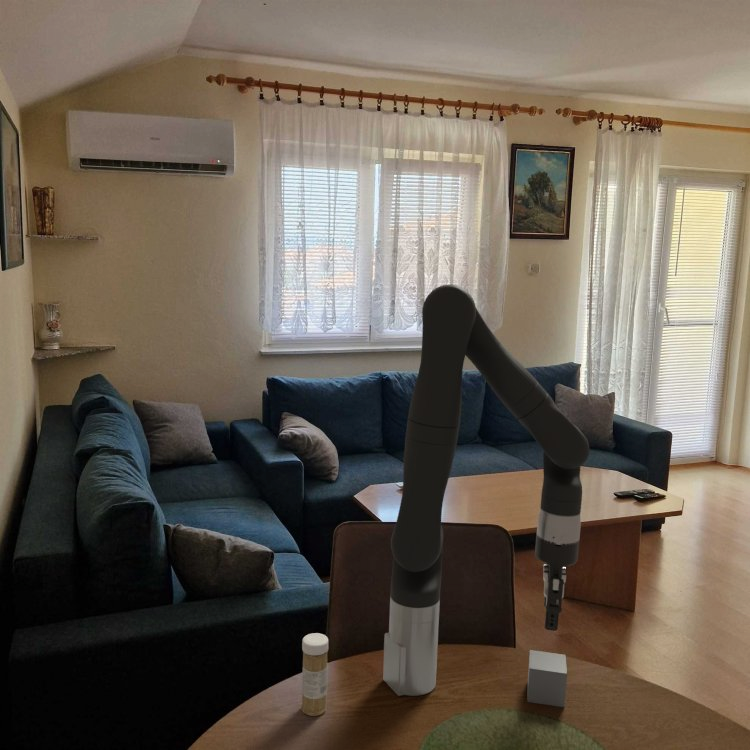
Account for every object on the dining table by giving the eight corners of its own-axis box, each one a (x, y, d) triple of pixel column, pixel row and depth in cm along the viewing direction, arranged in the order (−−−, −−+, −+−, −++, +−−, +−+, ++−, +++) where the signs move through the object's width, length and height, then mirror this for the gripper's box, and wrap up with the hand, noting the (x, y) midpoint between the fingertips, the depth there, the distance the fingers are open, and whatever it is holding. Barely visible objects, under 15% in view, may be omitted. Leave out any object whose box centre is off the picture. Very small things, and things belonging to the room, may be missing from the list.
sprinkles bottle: (314, 698, 131) (316, 629, 129) (332, 709, 128) (333, 638, 126) (295, 709, 128) (296, 638, 126) (313, 720, 125) (314, 648, 123)
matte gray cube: (564, 707, 131) (566, 673, 130) (527, 701, 132) (529, 668, 131) (563, 687, 137) (565, 654, 136) (527, 681, 139) (529, 649, 138)
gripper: (536, 518, 138) (529, 598, 140) (536, 545, 124) (529, 633, 126) (577, 523, 136) (569, 604, 139) (582, 551, 122) (573, 640, 125)
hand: (550, 618), depth 132 cm, fingers open, 8 cm apart
